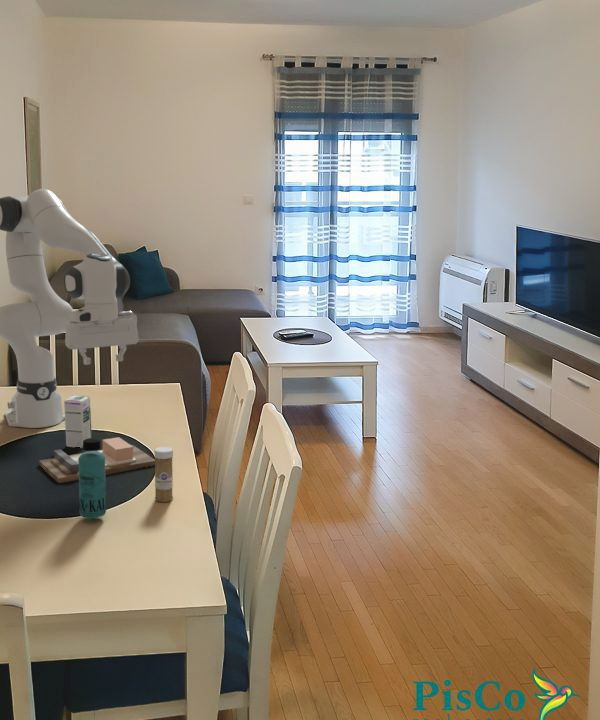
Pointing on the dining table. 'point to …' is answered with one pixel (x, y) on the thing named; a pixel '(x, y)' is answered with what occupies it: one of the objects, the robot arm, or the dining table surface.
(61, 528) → the dining table surface
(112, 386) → the dining table surface
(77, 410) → the syrup box
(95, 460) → the beverage bottle
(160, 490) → the sprinkles bottle
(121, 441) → the pink rectangular block
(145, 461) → the board
